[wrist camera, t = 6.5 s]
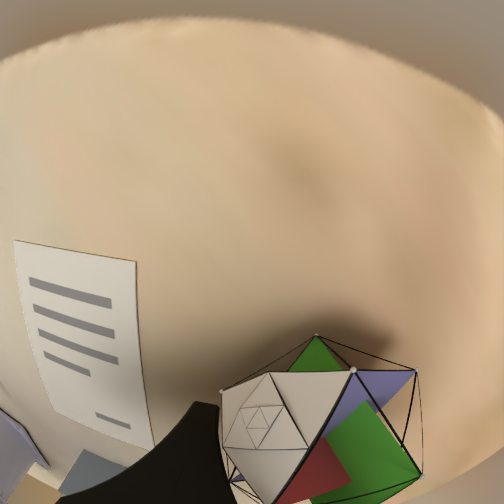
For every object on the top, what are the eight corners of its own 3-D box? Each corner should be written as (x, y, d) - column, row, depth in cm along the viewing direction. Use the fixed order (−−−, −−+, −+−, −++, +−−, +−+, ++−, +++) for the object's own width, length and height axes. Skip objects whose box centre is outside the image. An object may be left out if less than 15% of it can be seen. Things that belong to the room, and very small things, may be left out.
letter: (54, 409, 13) (54, 410, 13) (14, 240, 10) (13, 240, 10) (155, 450, 13) (155, 451, 12) (136, 261, 10) (134, 262, 10)
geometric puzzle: (454, 380, 8) (482, 509, 2) (356, 469, 10) (289, 582, 3) (336, 290, 12) (225, 318, 5) (260, 391, 13) (139, 458, 7)
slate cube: (98, 474, 15) (78, 511, 10) (84, 449, 14) (57, 490, 9) (144, 492, 15) (127, 534, 10) (134, 469, 14) (112, 518, 9)
